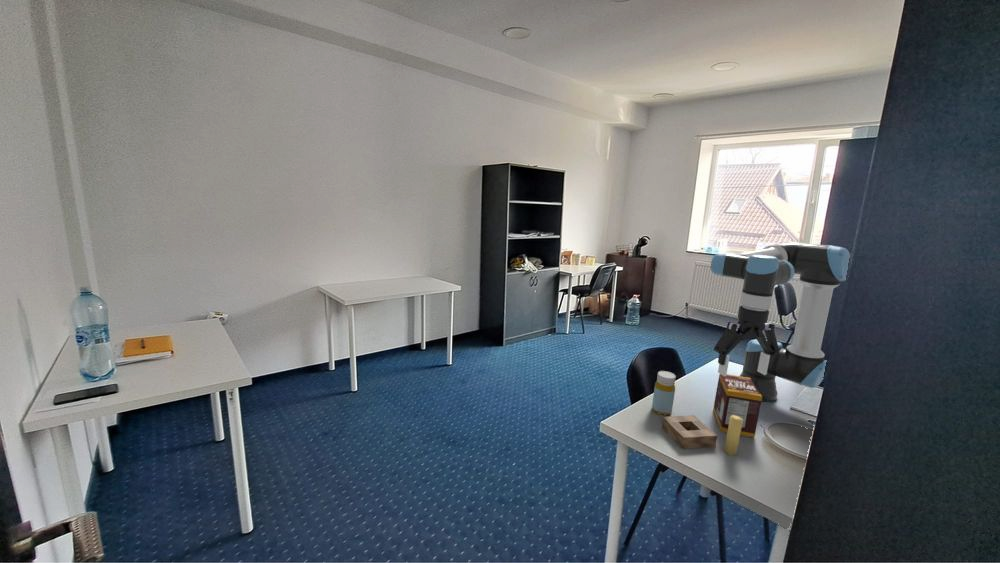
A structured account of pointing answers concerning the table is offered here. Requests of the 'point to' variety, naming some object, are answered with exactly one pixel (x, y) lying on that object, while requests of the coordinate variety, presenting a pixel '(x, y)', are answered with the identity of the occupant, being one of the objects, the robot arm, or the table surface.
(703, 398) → the table surface
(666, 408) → the bottle
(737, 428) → the peg
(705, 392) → the table surface
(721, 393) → the supplement box
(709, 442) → the socket block
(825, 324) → the robot arm
